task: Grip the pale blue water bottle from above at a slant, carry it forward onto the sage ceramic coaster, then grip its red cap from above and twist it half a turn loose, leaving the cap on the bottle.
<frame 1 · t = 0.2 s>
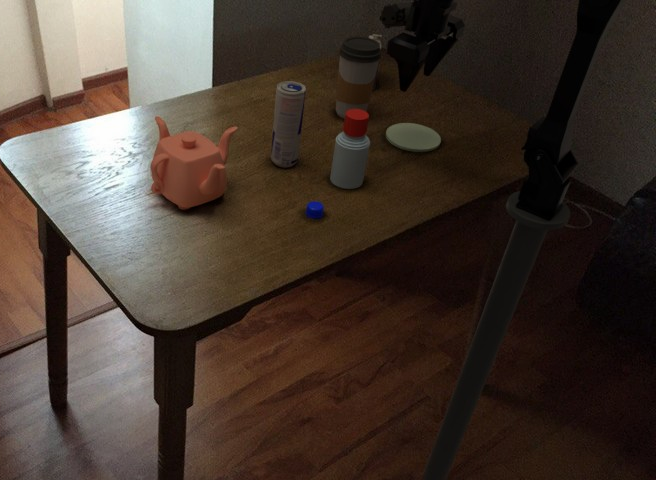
hand: (414, 83, 128), 14 cm above the table, tool pointing down, fingers open, 9 cm apart
teapot: (195, 192, 122), on the table
coaster: (412, 138, 142), on the table
beverage can: (283, 163, 132), on the table
coffee cup: (350, 114, 149), on the table
bottle cap: (314, 214, 119), on the table
cap: (357, 116, 120), point 13 cm above the table, screwed on, not yet turned
flask: (368, 82, 162), on the table
bottle: (346, 180, 128), on the table
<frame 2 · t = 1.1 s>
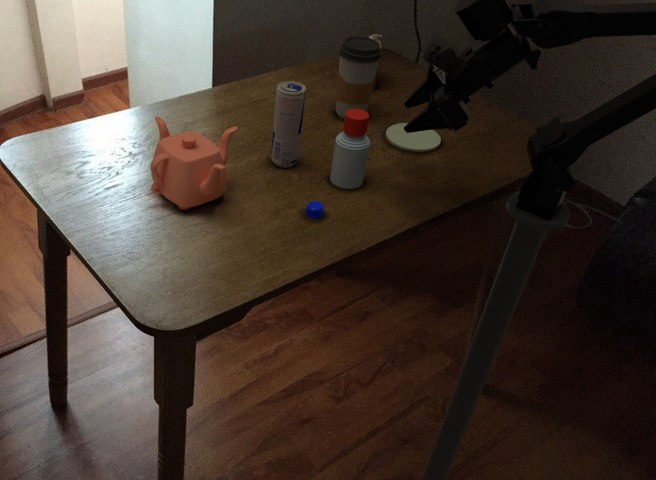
hand: (405, 117, 119), 13 cm above the table, tool tilted 45°, fingers open, 9 cm apart
nothing on the table moved.
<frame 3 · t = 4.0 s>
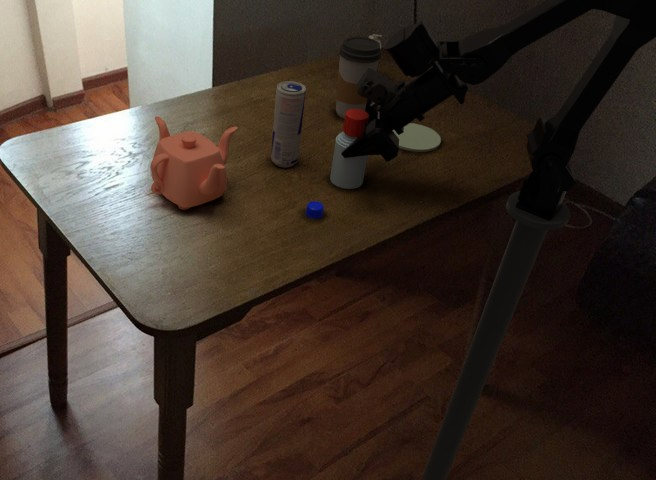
hand: (343, 146, 124), 7 cm above the table, tool tilted 45°, fingers closed on bottle, 6 cm apart
bottle: (346, 180, 128), on the table, touching gripper
everything else where it was.
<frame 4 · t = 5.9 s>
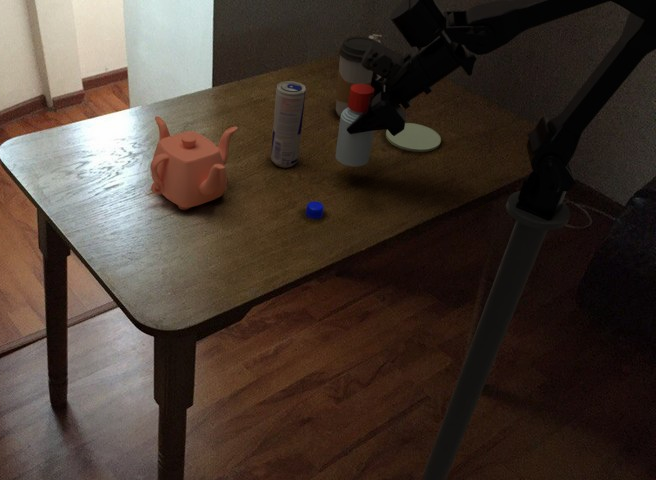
hand: (349, 123, 121), 11 cm above the table, tool tilted 45°, fingers closed on bottle, 6 cm apart
cap: (362, 90, 117), point 17 cm above the table, screwed on, not yet turned
bottle: (352, 158, 125), point 5 cm above the table, touching gripper
everything else where it was.
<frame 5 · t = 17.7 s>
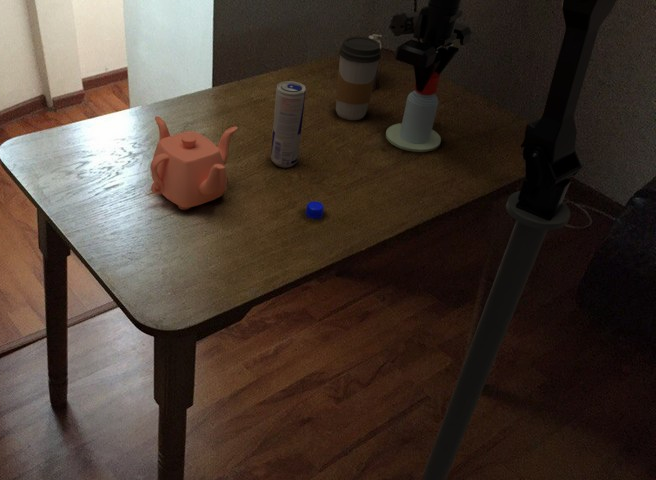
hand: (424, 87, 135), 11 cm above the table, tool pointing down, fingers closed on cap, 4 cm apart
cap: (428, 76, 133), point 13 cm above the table, screwed on, not yet turned, touching gripper
bottle: (414, 136, 141), point 1 cm above the table, touching coaster
everything else where it was.
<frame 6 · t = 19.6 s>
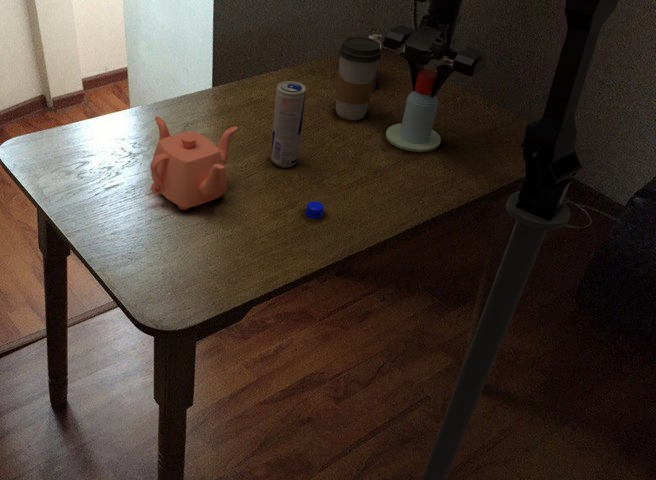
hand: (423, 93, 135), 10 cm above the table, tool pointing down, fingers closed on cap, 3 cm apart
cap: (428, 75, 133), point 13 cm above the table, turned 90° so far, risen 0.1 cm, still on its thread, touching gripper
bottle: (414, 136, 141), point 1 cm above the table, touching coaster, gripper
everything else where it was.
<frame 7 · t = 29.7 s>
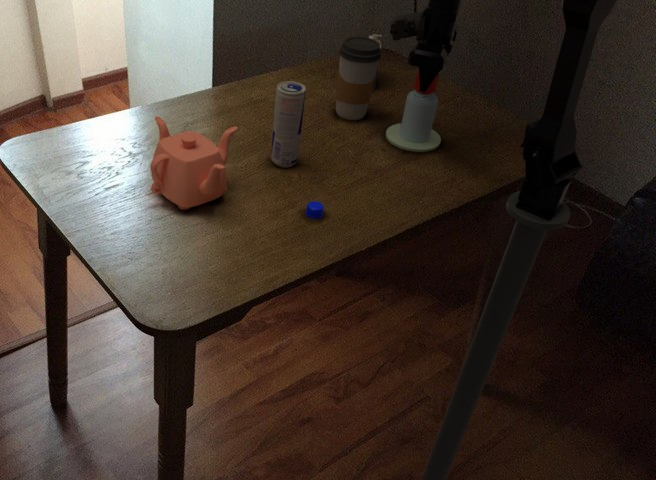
hand: (424, 87, 135), 11 cm above the table, tool pointing down, fingers closed on cap, 4 cm apart
cap: (428, 75, 133), point 13 cm above the table, turned 107° so far, risen 0.1 cm, still on its thread, touching gripper
bottle: (414, 135, 141), point 1 cm above the table, touching coaster
everything else where it was.
when the fingers open (11 cm above the table, at t = 30.8 s): cap stays where it is, point 13 cm above the table.
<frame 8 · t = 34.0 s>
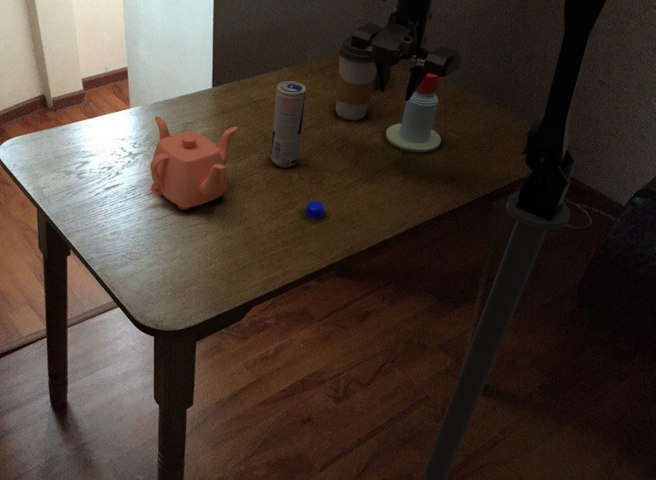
hand: (395, 96, 126), 13 cm above the table, tool pointing down, fingers open, 5 cm apart
cap: (428, 74, 133), point 13 cm above the table, turned 179° so far, risen 0.2 cm, still on its thread
everything else where it was.
at the end: cap turned 0.50 turns (still on its thread); cap is still on its thread (0.50 turns); bottle 0.1 cm off-centre on the coaster, point 0.6 cm above the coaster's base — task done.
